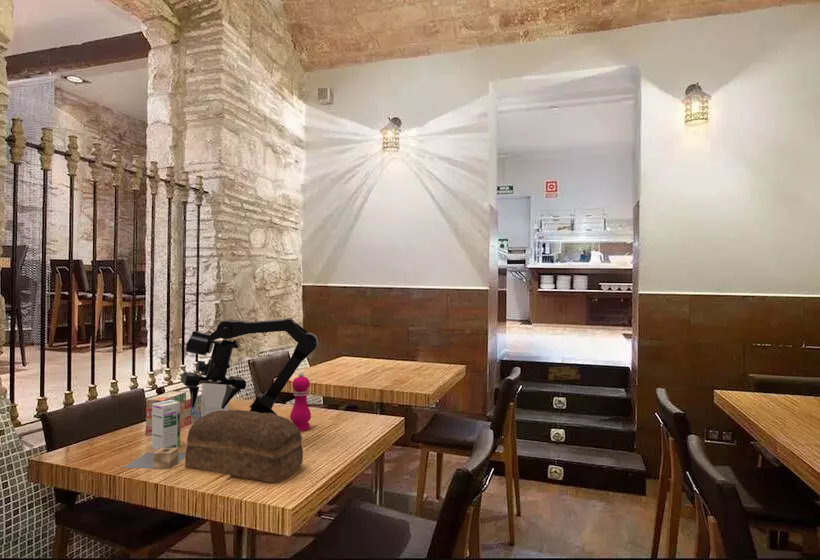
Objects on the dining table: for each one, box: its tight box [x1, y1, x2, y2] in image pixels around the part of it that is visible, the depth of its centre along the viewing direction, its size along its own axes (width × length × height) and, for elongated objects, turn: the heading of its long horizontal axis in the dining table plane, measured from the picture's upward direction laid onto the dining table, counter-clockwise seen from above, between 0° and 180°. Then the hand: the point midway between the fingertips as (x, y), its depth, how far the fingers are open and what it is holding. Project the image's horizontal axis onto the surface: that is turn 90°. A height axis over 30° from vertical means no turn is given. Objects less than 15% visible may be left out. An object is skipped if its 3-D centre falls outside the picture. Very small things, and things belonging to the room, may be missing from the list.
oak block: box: [152, 447, 179, 469], centre depth 130 cm, size 4×4×4 cm
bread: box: [184, 409, 304, 483], centre depth 131 cm, size 15×32×16 cm, turn 72°
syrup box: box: [151, 400, 181, 451], centre depth 145 cm, size 6×6×14 cm
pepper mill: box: [289, 371, 312, 432], centre depth 167 cm, size 7×7×20 cm
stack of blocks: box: [145, 390, 202, 436], centre depth 168 cm, size 21×6×12 cm, turn 169°
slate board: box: [122, 452, 186, 470], centre depth 134 cm, size 13×12×1 cm
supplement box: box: [201, 374, 230, 417], centre depth 186 cm, size 9×9×15 cm
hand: (207, 407), depth 148 cm, fingers open, 9 cm apart
